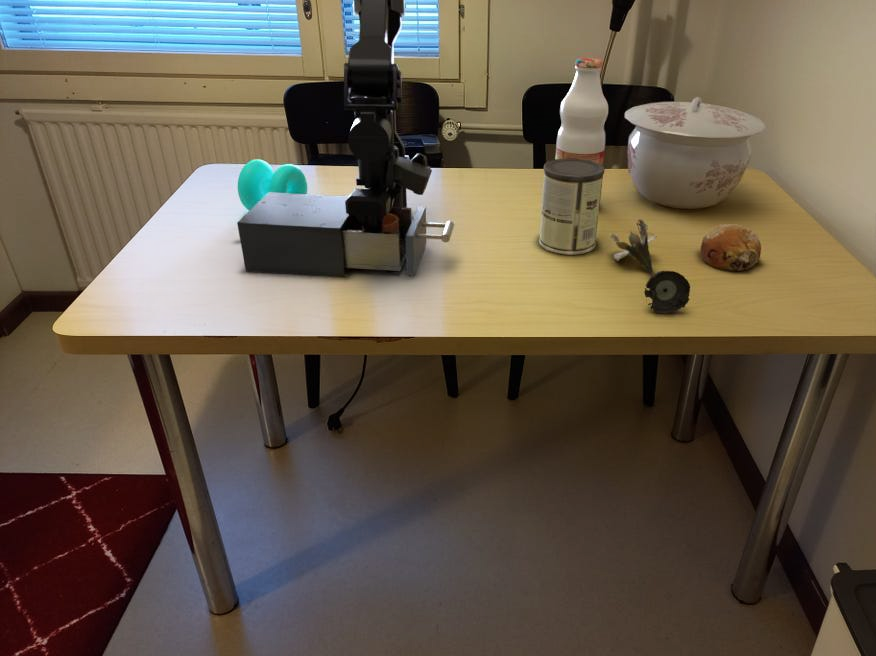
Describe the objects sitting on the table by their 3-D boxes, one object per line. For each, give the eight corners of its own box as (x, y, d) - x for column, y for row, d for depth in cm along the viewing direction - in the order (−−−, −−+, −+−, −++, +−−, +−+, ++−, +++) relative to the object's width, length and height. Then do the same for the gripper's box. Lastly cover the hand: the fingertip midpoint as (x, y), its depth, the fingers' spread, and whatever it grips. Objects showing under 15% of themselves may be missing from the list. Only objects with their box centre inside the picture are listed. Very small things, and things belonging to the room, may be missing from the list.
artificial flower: (633, 321, 103) (623, 259, 99) (614, 273, 123) (605, 220, 119) (693, 309, 102) (685, 245, 98) (664, 262, 122) (657, 208, 118)
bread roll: (753, 275, 123) (763, 231, 122) (759, 274, 113) (769, 225, 112) (696, 267, 126) (705, 223, 124) (697, 264, 116) (707, 217, 115)
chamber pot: (647, 226, 132) (665, 115, 121) (594, 181, 154) (605, 84, 143) (775, 217, 138) (803, 110, 127) (706, 175, 160) (725, 81, 149)
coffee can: (549, 229, 130) (555, 154, 122) (602, 239, 126) (611, 163, 119) (529, 248, 122) (535, 170, 114) (585, 259, 119) (594, 179, 111)
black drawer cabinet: (364, 242, 123) (361, 196, 118) (344, 277, 111) (340, 228, 106) (275, 237, 124) (268, 192, 119) (245, 271, 112) (236, 222, 107)
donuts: (284, 226, 128) (276, 173, 123) (239, 218, 131) (230, 166, 126) (312, 209, 136) (307, 158, 131) (269, 201, 139) (262, 152, 133)
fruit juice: (542, 203, 142) (552, 57, 127) (576, 195, 146) (590, 53, 131) (572, 217, 135) (587, 65, 120) (607, 209, 140) (625, 61, 125)
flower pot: (357, 239, 116) (356, 216, 113) (390, 233, 118) (389, 210, 116) (371, 252, 111) (370, 228, 109) (405, 245, 114) (404, 222, 112)
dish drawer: (456, 244, 121) (456, 207, 117) (447, 276, 110) (446, 237, 106) (341, 237, 122) (337, 201, 118) (320, 269, 111) (315, 230, 107)
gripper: (417, 163, 97) (419, 263, 106) (435, 129, 113) (436, 219, 122) (340, 159, 98) (349, 259, 107) (369, 126, 114) (374, 216, 122)
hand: (381, 237), depth 114 cm, fingers closed on flower pot, 6 cm apart
